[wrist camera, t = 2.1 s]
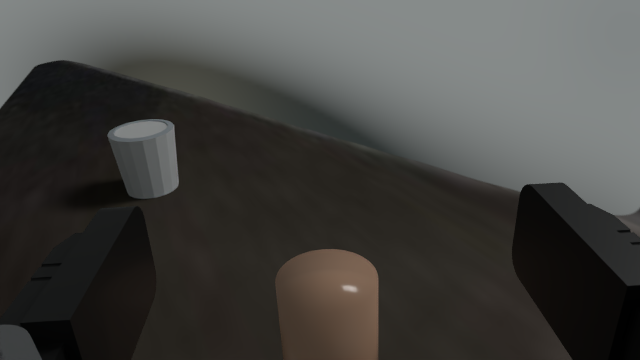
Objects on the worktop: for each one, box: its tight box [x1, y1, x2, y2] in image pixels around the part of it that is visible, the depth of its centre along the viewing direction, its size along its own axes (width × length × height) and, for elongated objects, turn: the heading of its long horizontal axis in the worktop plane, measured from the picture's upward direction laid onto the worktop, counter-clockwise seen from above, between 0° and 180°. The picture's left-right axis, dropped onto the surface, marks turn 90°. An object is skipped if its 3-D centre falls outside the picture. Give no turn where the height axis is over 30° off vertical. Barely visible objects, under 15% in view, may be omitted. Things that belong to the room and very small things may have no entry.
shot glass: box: [107, 119, 179, 199], centre depth 57 cm, size 7×7×7 cm
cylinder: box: [275, 249, 378, 360], centre depth 27 cm, size 5×5×10 cm
